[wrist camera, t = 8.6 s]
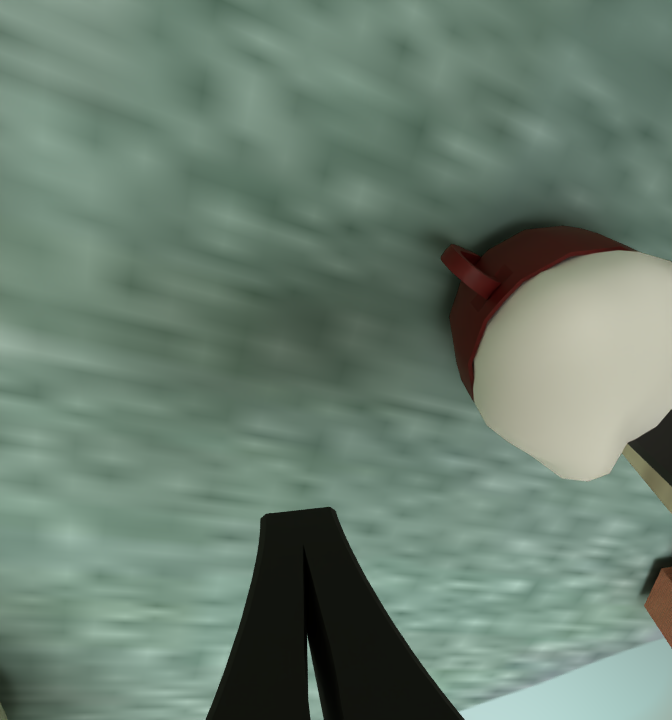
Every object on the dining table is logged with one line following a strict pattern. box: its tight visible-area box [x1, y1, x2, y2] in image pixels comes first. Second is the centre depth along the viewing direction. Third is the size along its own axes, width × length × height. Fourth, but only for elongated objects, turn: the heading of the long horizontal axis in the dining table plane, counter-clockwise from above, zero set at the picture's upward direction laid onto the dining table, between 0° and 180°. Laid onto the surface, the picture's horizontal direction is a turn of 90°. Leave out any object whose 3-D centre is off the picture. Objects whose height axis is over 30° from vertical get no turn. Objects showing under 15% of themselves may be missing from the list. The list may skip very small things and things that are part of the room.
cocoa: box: [441, 226, 672, 487], centre depth 15 cm, size 10×6×12 cm, turn 30°
